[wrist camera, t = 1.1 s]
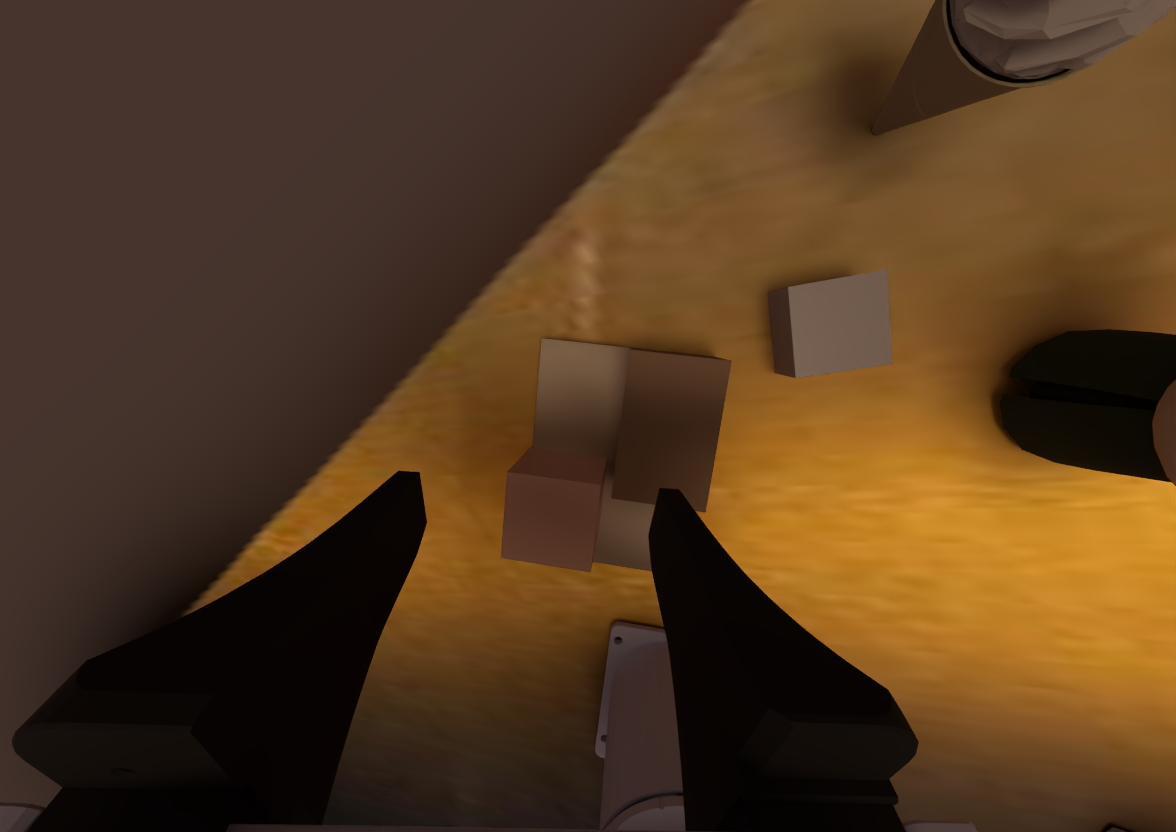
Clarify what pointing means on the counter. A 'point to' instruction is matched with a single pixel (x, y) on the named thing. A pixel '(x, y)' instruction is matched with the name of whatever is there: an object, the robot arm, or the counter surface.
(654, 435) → the walnut bar
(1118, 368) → the character mug
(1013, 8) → the ice cream cone
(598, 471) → the terracotta cube
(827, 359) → the grey block
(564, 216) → the counter surface
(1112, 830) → the skincare box
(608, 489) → the birch board
